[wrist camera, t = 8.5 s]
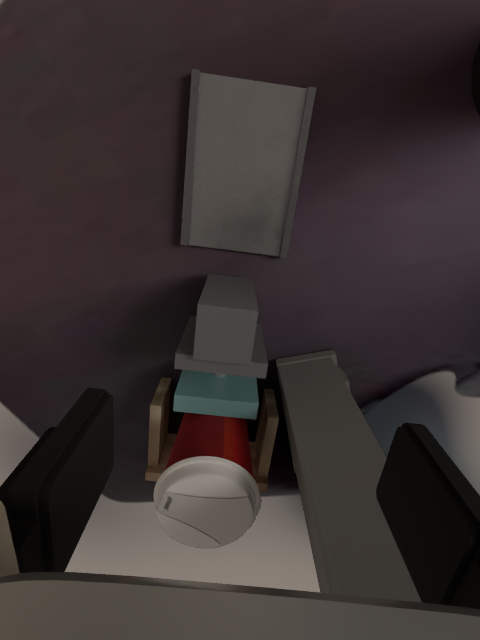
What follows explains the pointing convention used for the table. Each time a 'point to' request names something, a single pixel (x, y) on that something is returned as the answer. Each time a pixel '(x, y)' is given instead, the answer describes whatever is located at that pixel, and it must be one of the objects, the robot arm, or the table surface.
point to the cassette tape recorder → (340, 482)
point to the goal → (164, 441)
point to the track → (243, 163)
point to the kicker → (222, 352)
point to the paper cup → (208, 483)
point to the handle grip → (476, 79)
